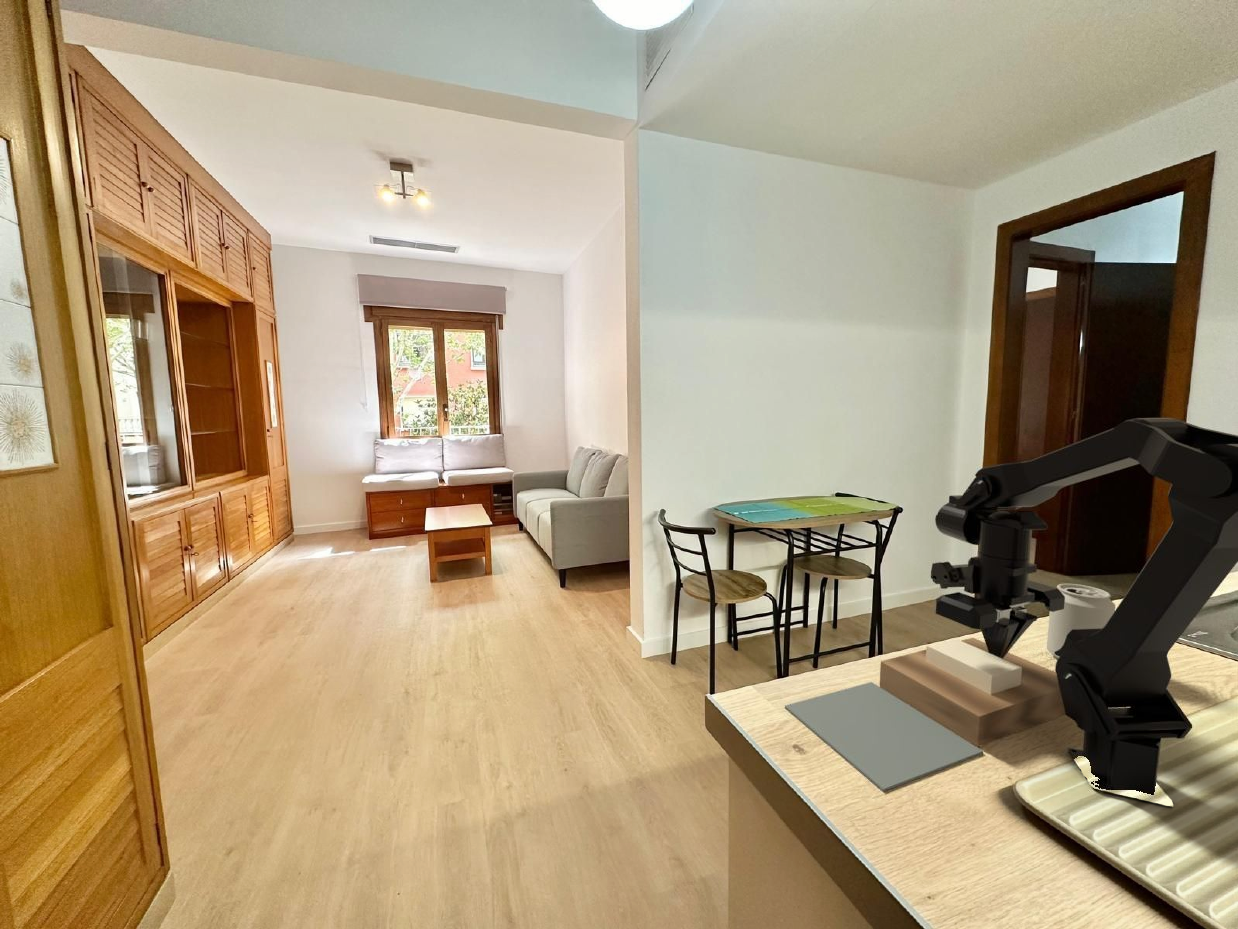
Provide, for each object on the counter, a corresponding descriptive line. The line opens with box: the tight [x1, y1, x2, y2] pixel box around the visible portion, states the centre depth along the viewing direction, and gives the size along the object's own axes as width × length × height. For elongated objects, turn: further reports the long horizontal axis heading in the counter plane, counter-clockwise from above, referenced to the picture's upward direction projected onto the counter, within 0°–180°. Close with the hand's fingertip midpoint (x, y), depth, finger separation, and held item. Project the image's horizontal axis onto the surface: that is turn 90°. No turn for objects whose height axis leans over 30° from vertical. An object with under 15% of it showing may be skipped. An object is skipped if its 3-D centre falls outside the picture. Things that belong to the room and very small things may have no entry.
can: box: [1046, 583, 1116, 660], centre depth 78 cm, size 8×8×12 cm
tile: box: [925, 637, 1022, 695], centre depth 68 cm, size 6×9×2 cm, turn 20°
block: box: [879, 637, 1066, 748], centre depth 68 cm, size 20×14×4 cm
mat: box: [784, 681, 984, 792], centre depth 62 cm, size 16×16×1 cm
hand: (996, 659), depth 69 cm, fingers closed
